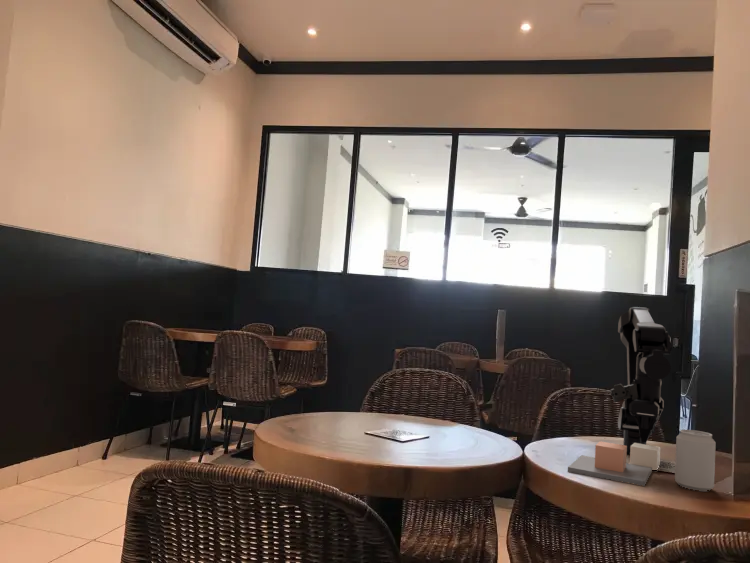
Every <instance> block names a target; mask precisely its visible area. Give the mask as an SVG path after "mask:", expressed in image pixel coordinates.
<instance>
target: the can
mask: <svg viewBox="0 0 750 563" xmlns="http://www.w3.org/2000/svg"><path fill="white" fill-rule="evenodd" d="M679 432H680V433H678V435H677V436H676V443H675V467H674V481H675V482H676V483H677V484H678V486H679V485H680V486H679V487H681V486H682V487H681V488H683V487H685V488H684V489H686V488H689V489H688V490H690V489H693V490H692V491H695V490H699V491H698V492H708V491H707V490H709V491H710V490H711V489H714V488H715V472H716V470H715V469H716V468H715V467H716V447H717V446H716V441H715V439H713V434H712V433H710V432H705V431H700V430H695V429H680V430H679Z"/></svg>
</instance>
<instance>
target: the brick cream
mask: <svg viewBox="0 0 750 563" xmlns="http://www.w3.org/2000/svg"><path fill="white" fill-rule="evenodd" d="M660 463H661V446H656V445H652V444H646V445H645V444H639V443H633V444H632V445H631V447H630V454H629V464H634V465H640V466H646V467H651V468H652V469H653V470H657V468H658V466H659V465H661V464H660ZM657 471H658V470H657Z"/></svg>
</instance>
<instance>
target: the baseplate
mask: <svg viewBox="0 0 750 563" xmlns="http://www.w3.org/2000/svg"><path fill="white" fill-rule="evenodd" d="M567 472H569V473H574V474H578V475H579V474H580V475H583V474H585V475H584V476H589V475H591V476H590V477H594V476H595V477H594V478H599V477H600V478H599V479H604V478H606V479H605V480H609V479H611V480H610V481H615V480H616V482H620V481H623V482H622V483H625V482H629V483H628V484H630V483H634V484H633V485H635V484H638V485H637V486H641V485H643V486H642V487H646V485H645V484H647V483H648V481H647V480H649V479H650V477H649V476H651V474H652V472H653V471H652V468H651V467H646V466H640V465H634V464H630V463H627V462H626V468H625V470H624V471H623V472H618V471H613V470H607V469H602V468H597V467H595V456H588V455H583V454H581V455H580V456H579V457H578V458H577V459H576V460H575V461H573V462H572V463H570V465H568V466H567ZM648 478H649V479H648ZM646 482H647V483H646Z"/></svg>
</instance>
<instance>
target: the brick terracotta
mask: <svg viewBox="0 0 750 563" xmlns="http://www.w3.org/2000/svg"><path fill="white" fill-rule="evenodd" d="M594 450H595V453H594V458H595V467H597V468H602V469H607V470H613V471H618V472H623V471H624V470H625V468H626V463H627V455H628V454H627V446H625V445H623V444H618V443H612V442H607V441H601V440H600V441H598V442H597V443H596V444H595V449H594Z"/></svg>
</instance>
